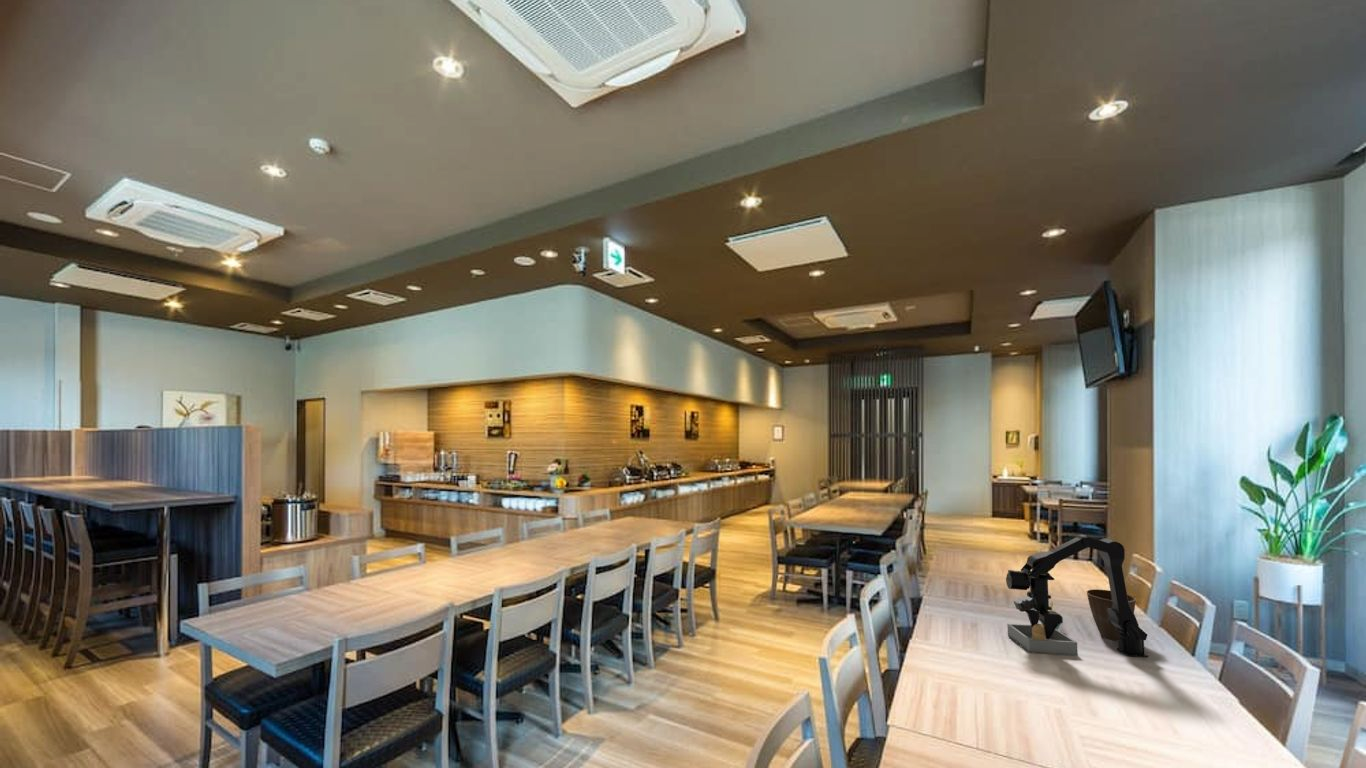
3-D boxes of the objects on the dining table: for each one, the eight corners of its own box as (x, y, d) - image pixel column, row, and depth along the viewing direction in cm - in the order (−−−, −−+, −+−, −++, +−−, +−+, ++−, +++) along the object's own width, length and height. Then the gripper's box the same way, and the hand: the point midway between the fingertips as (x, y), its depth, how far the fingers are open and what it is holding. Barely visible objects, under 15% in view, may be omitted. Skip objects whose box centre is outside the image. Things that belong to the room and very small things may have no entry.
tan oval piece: (1044, 640, 202) (1044, 622, 202) (1053, 646, 196) (1052, 627, 197) (1029, 639, 202) (1028, 621, 203) (1037, 645, 197) (1036, 626, 198)
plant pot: (1139, 648, 197) (1136, 603, 198) (1088, 638, 206) (1086, 595, 207) (1136, 636, 209) (1134, 594, 210) (1088, 627, 218) (1086, 587, 219)
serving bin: (1052, 638, 206) (1051, 626, 207) (1077, 655, 190) (1077, 642, 191) (1007, 635, 208) (1007, 623, 208) (1029, 652, 192) (1029, 639, 193)
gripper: (1004, 582, 211) (1005, 623, 210) (1029, 597, 192) (1031, 642, 191) (1034, 584, 210) (1036, 625, 208) (1062, 599, 191) (1064, 644, 190)
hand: (1040, 634), depth 200 cm, fingers open, 9 cm apart
